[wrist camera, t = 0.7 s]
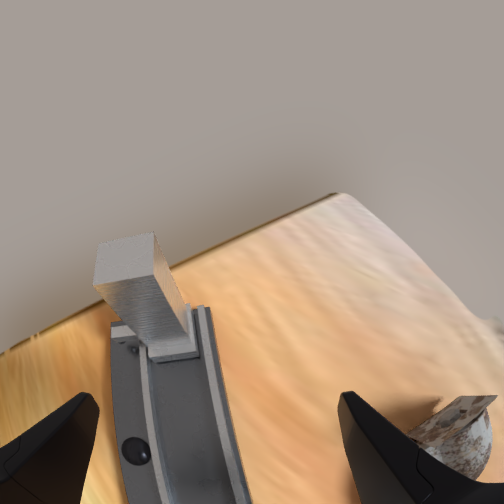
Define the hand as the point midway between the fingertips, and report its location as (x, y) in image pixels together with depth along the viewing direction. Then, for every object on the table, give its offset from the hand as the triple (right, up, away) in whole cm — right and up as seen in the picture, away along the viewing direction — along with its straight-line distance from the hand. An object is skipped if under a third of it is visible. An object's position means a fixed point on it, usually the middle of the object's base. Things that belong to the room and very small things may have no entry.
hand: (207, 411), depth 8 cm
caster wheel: (+17, -15, +7) cm, 24 cm away
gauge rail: (-5, -11, +10) cm, 16 cm away
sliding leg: (-7, -2, +15) cm, 16 cm away
